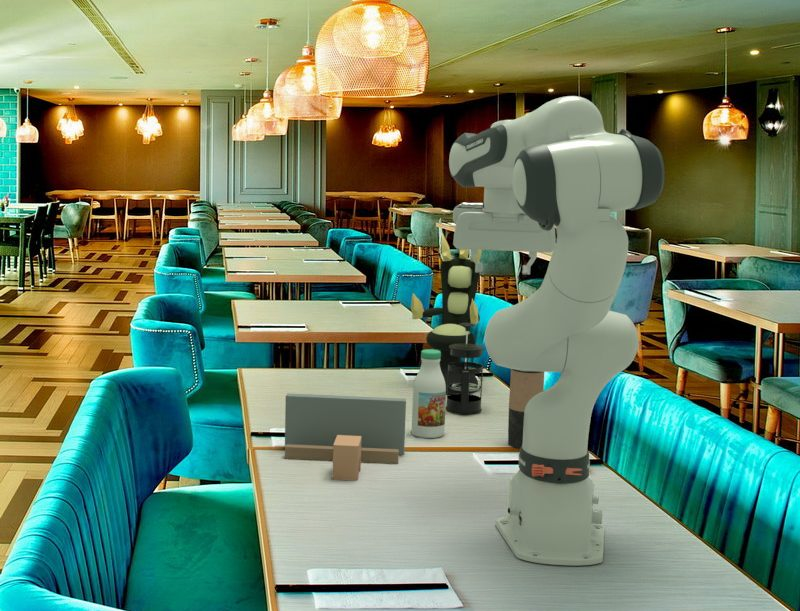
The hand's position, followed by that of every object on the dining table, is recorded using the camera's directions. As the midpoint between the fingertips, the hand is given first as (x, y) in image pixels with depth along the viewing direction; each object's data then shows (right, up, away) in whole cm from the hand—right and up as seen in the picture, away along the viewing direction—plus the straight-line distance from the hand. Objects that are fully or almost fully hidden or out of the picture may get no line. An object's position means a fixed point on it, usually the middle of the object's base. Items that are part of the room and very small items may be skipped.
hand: (502, 273), depth 182 cm
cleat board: (-33, -39, +14) cm, 53 cm away
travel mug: (+8, -39, +26) cm, 47 cm away
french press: (-4, -34, +54) cm, 64 cm away
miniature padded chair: (-6, -30, +81) cm, 86 cm away
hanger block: (-31, -41, +2) cm, 51 cm away
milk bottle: (-14, -37, +32) cm, 51 cm away
